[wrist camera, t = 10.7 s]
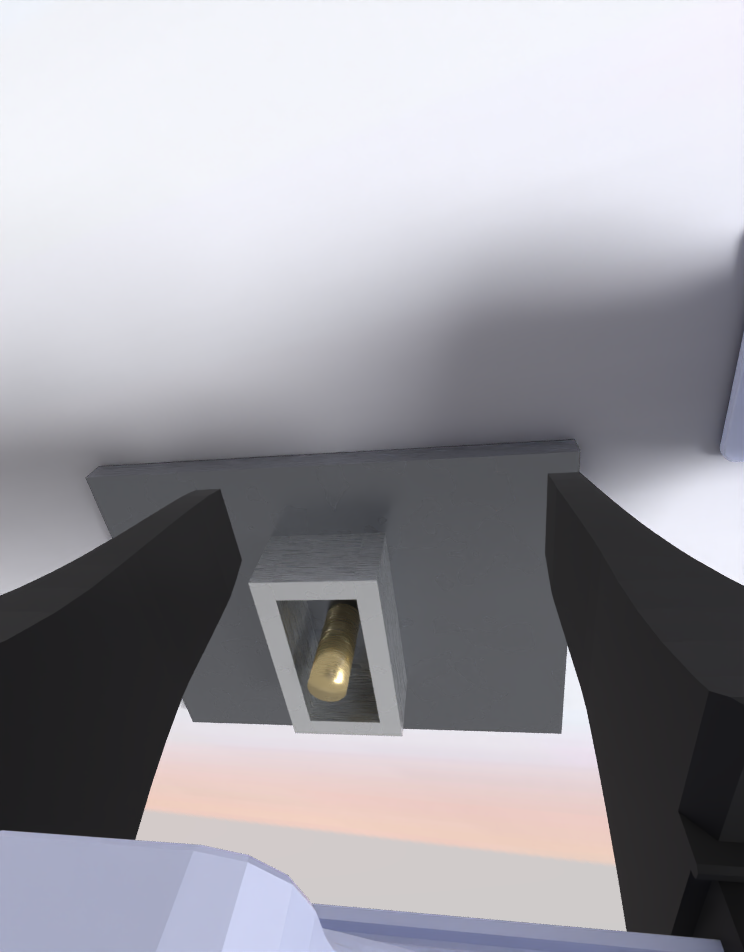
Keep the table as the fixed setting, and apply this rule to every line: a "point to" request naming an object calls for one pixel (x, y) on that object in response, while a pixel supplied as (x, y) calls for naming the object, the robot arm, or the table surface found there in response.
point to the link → (294, 641)
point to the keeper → (412, 568)
